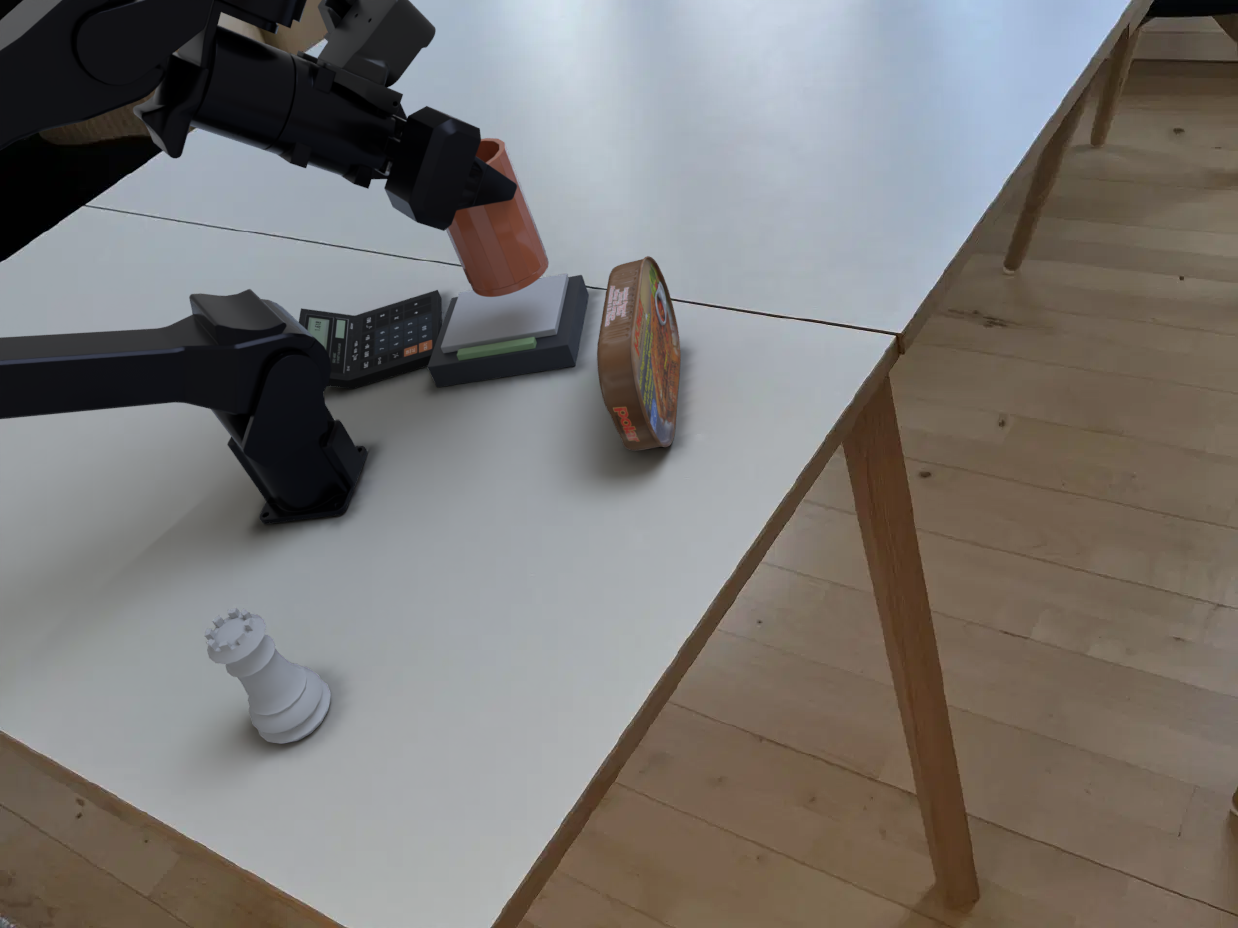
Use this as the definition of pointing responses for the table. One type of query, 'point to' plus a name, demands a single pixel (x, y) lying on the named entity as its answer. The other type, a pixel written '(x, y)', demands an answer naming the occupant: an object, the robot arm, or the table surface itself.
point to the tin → (639, 355)
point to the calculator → (377, 339)
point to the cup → (498, 235)
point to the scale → (510, 332)
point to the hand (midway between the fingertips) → (491, 180)
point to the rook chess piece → (268, 678)
